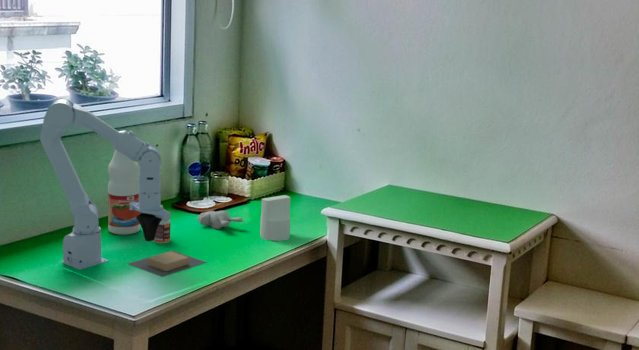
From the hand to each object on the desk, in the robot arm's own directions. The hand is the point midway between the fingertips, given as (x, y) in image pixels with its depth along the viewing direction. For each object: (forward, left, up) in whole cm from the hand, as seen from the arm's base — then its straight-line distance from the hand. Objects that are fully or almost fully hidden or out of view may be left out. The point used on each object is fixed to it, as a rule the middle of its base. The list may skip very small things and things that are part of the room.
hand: (149, 240), depth 227 cm
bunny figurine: (+36, +10, -6) cm, 37 cm away
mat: (+1, -6, -6) cm, 8 cm away
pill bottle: (+13, +10, -6) cm, 17 cm away
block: (0, -4, -4) cm, 6 cm away
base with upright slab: (+41, -9, -6) cm, 42 cm away
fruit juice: (+12, +26, -6) cm, 29 cm away
